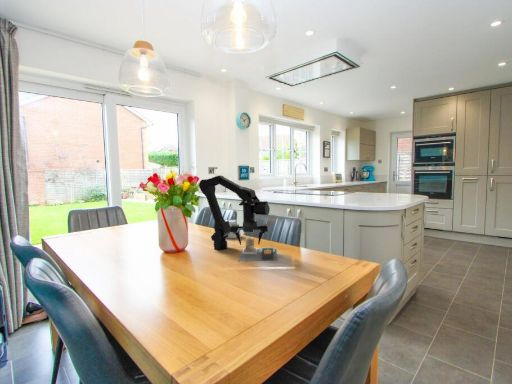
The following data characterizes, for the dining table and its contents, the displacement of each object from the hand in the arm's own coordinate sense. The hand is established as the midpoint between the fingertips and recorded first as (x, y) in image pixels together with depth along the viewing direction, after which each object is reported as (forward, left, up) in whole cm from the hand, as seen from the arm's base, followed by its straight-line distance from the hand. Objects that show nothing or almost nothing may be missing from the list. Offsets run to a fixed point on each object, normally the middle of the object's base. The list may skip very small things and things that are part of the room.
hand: (249, 244), depth 133 cm
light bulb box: (-16, +34, -5) cm, 39 cm away
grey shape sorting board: (+5, -5, -5) cm, 8 cm away
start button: (+9, -9, -3) cm, 13 cm away
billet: (0, 0, -4) cm, 4 cm away
